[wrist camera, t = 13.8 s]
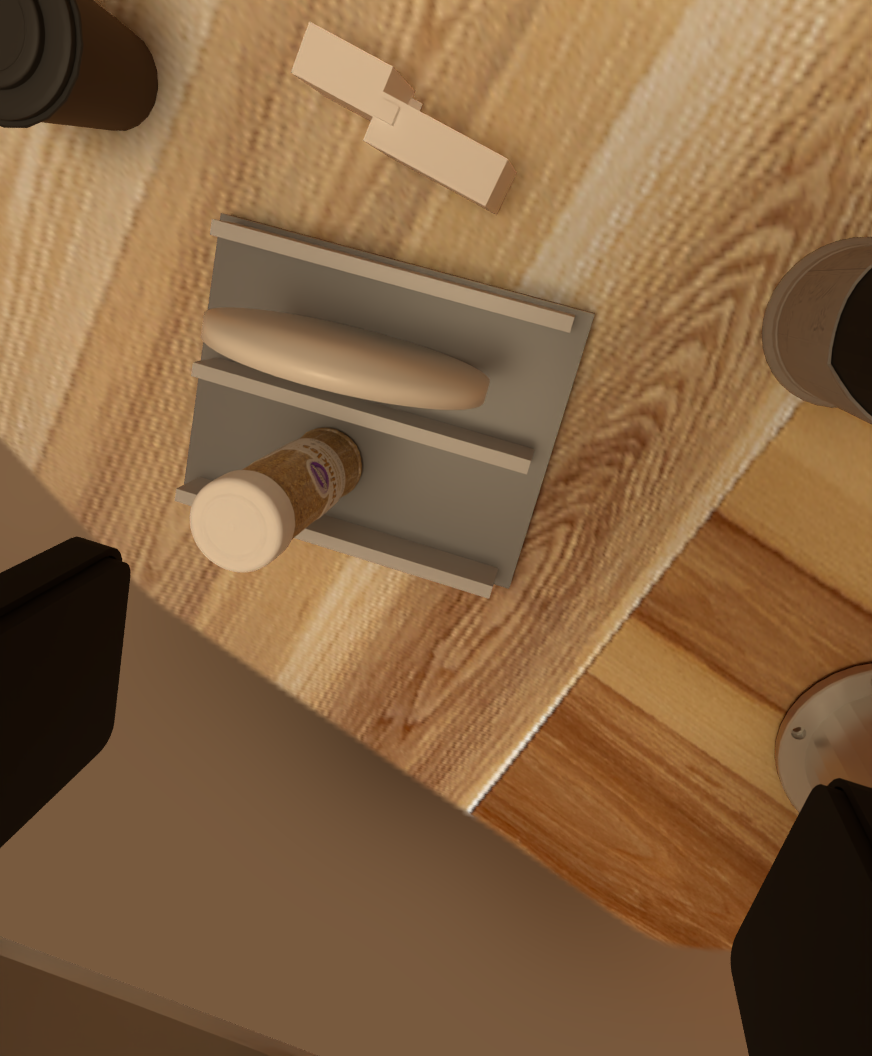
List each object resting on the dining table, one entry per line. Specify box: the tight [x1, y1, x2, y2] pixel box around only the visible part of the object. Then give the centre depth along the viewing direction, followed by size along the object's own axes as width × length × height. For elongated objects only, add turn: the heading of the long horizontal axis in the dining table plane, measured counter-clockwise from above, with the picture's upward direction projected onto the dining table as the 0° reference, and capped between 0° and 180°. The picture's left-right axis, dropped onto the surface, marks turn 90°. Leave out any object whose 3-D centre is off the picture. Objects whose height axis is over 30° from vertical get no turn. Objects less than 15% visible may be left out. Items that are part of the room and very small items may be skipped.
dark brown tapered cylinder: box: [0, 0, 158, 131], centre depth 38 cm, size 8×8×10 cm
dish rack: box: [175, 213, 595, 599], centre depth 39 cm, size 22×17×15 cm
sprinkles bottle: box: [190, 428, 362, 572], centre depth 40 cm, size 5×5×13 cm
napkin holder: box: [291, 22, 517, 215], centre depth 39 cm, size 15×11×6 cm
